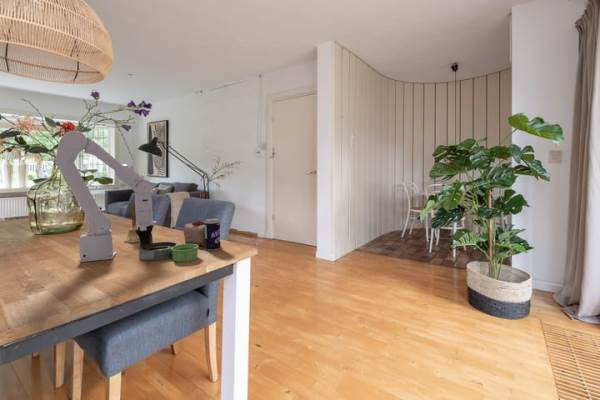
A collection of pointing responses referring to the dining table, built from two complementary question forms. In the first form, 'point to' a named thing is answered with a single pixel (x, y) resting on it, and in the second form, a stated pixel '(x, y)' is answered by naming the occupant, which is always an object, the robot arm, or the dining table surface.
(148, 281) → the dining table surface
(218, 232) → the beverage can
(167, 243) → the grey metal bowl
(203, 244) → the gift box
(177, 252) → the ramekin
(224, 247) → the dining table surface
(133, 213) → the hand bell
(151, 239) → the tan wooden block
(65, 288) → the dining table surface
